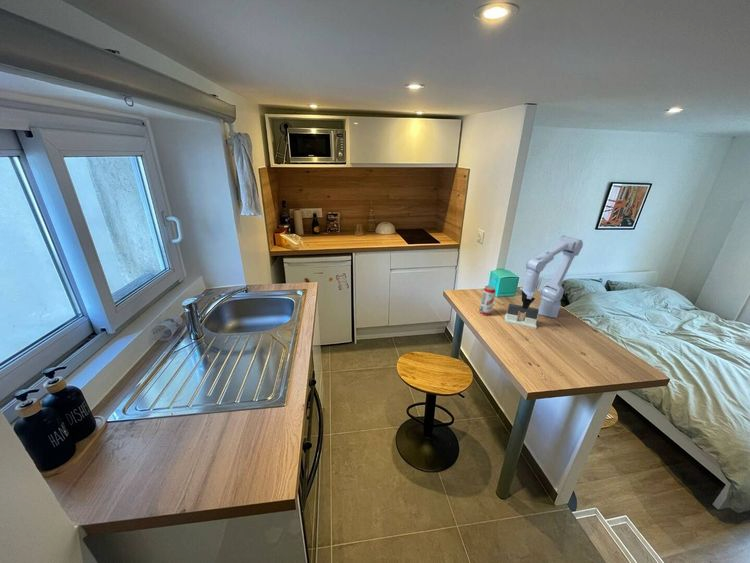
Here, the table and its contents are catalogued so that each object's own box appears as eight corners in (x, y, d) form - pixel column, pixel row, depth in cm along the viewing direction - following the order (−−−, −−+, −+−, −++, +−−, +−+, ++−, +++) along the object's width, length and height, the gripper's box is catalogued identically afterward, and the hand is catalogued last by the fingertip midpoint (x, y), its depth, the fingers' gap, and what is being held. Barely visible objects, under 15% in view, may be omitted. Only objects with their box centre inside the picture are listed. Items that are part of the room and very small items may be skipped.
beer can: (476, 311, 163) (481, 286, 157) (485, 309, 166) (490, 284, 159) (484, 316, 158) (490, 291, 152) (493, 314, 161) (498, 289, 154)
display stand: (534, 320, 155) (537, 311, 153) (536, 328, 149) (539, 318, 146) (504, 315, 160) (507, 305, 158) (505, 322, 154) (507, 312, 151)
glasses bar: (535, 316, 152) (538, 308, 150) (536, 319, 149) (538, 311, 147) (507, 311, 156) (509, 303, 154) (507, 313, 154) (509, 305, 152)
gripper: (521, 275, 152) (515, 297, 158) (523, 286, 140) (516, 310, 145) (536, 277, 150) (529, 300, 155) (539, 288, 137) (532, 312, 143)
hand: (524, 305), depth 150 cm, fingers open, 7 cm apart
